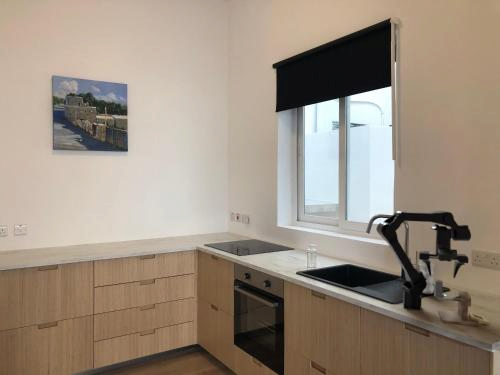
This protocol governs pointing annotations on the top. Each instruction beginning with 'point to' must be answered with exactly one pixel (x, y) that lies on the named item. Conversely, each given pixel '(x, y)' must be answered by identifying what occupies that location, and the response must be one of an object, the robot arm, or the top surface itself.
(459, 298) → the shaft
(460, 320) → the bearing stand
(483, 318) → the bar
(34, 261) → the top surface
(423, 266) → the plastic bottle
